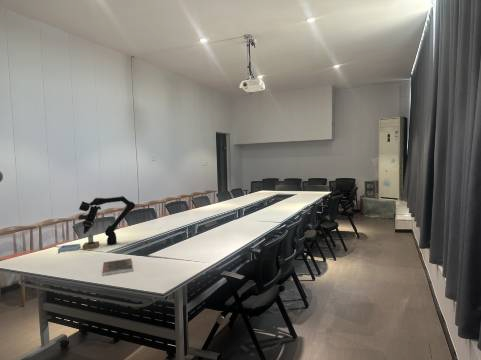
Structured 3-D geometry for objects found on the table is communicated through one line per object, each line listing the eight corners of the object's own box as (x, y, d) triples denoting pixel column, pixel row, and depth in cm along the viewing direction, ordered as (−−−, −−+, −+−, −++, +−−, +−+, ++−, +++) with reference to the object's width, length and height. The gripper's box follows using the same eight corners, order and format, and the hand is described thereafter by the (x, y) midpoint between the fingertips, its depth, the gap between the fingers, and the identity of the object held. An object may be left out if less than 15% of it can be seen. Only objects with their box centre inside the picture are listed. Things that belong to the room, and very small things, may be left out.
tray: (80, 247, 246) (80, 243, 246) (77, 251, 235) (77, 247, 235) (62, 249, 242) (61, 245, 242) (58, 253, 232) (57, 249, 231)
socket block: (99, 245, 249) (98, 241, 249) (97, 248, 240) (97, 244, 239) (85, 247, 246) (85, 242, 246) (82, 250, 237) (82, 245, 237)
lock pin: (94, 246, 245) (93, 233, 245) (93, 247, 242) (92, 234, 241) (89, 246, 244) (88, 234, 244) (88, 247, 241) (87, 235, 240)
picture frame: (132, 271, 184) (131, 261, 205) (132, 267, 184) (131, 257, 204) (102, 276, 179) (103, 265, 199) (101, 272, 178) (103, 261, 199)
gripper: (84, 209, 250) (76, 228, 248) (79, 211, 232) (71, 231, 231) (98, 213, 253) (91, 232, 251) (94, 215, 235) (87, 235, 234)
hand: (85, 232), depth 242 cm, fingers open, 9 cm apart
